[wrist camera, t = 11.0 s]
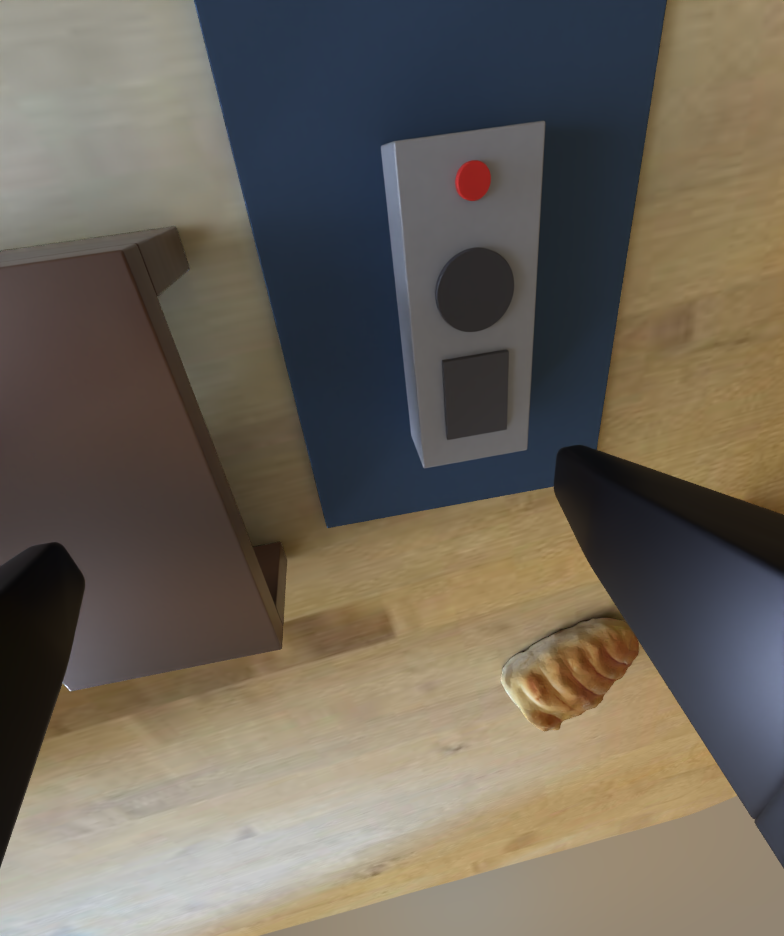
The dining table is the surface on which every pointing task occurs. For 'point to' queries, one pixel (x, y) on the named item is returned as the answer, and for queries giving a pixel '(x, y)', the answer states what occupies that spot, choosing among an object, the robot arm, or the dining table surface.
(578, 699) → the pastry
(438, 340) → the remote
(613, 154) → the placemat
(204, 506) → the bench
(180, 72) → the dining table surface
